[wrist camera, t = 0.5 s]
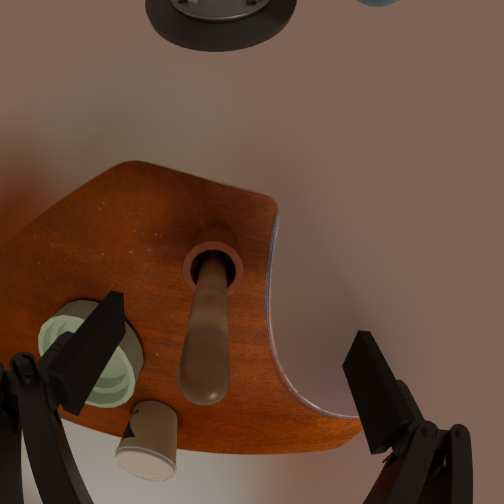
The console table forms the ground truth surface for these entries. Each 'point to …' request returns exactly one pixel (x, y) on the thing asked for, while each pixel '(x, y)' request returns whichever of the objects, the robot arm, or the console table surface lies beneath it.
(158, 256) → the console table surface
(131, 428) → the coffee cup
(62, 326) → the bowl
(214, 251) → the stick
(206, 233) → the crock
